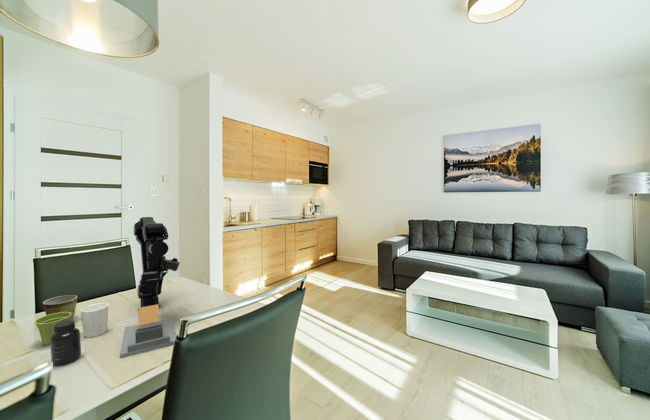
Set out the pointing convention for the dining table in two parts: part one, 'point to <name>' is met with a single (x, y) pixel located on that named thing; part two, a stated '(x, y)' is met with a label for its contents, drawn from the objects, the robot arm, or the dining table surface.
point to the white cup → (94, 319)
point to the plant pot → (50, 324)
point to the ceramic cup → (61, 305)
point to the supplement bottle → (65, 343)
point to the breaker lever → (148, 317)
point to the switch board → (147, 338)
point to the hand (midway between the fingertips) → (157, 293)
